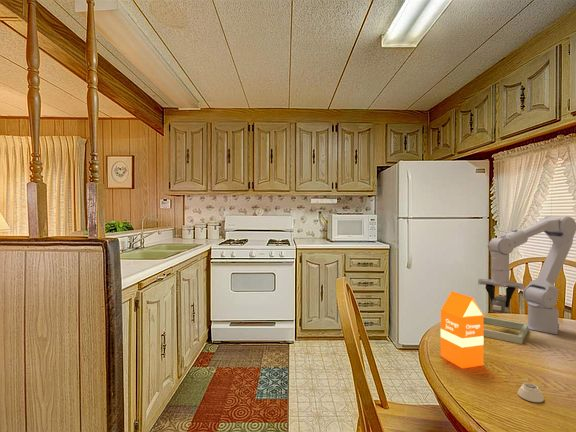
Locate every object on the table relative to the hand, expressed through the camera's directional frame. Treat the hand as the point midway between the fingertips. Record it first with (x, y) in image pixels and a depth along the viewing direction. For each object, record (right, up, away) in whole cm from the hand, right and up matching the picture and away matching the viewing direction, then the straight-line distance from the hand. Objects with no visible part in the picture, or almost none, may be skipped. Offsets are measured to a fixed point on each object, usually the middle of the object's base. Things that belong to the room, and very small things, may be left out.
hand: (500, 305), depth 126 cm
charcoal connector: (0, -1, 0) cm, 1 cm away
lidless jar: (-22, -10, -46) cm, 52 cm away
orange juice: (-28, -10, -26) cm, 39 cm away
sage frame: (-2, -9, -1) cm, 10 cm away
